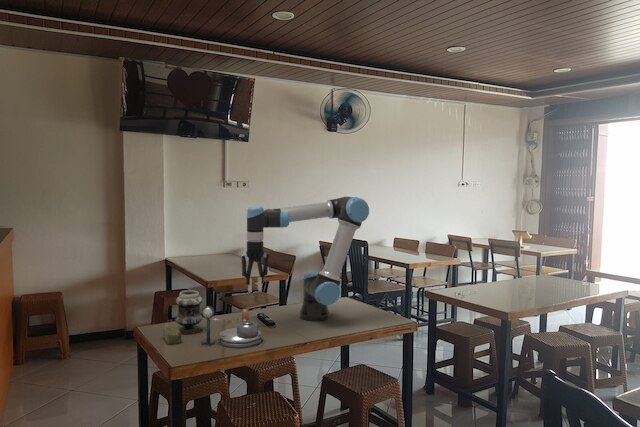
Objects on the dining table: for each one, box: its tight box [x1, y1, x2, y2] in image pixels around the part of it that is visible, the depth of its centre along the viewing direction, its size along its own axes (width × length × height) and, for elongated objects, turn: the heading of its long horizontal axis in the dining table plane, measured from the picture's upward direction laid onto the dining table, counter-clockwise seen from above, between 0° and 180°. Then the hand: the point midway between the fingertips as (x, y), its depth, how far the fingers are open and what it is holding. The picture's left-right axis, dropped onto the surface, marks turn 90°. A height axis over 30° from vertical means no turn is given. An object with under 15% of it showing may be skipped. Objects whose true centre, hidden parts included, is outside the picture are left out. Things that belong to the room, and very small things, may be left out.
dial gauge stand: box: [200, 305, 222, 346], centre depth 207 cm, size 8×5×16 cm, turn 89°
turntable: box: [218, 308, 262, 343], centre depth 213 cm, size 18×22×9 cm
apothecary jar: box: [174, 289, 203, 335], centre depth 223 cm, size 12×12×18 cm
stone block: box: [162, 326, 182, 345], centre depth 210 cm, size 6×12×5 cm, turn 28°
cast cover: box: [236, 320, 259, 339], centre depth 209 cm, size 9×9×6 cm
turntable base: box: [217, 334, 263, 349], centre depth 212 cm, size 19×19×2 cm
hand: (254, 291), depth 224 cm, fingers open, 4 cm apart
